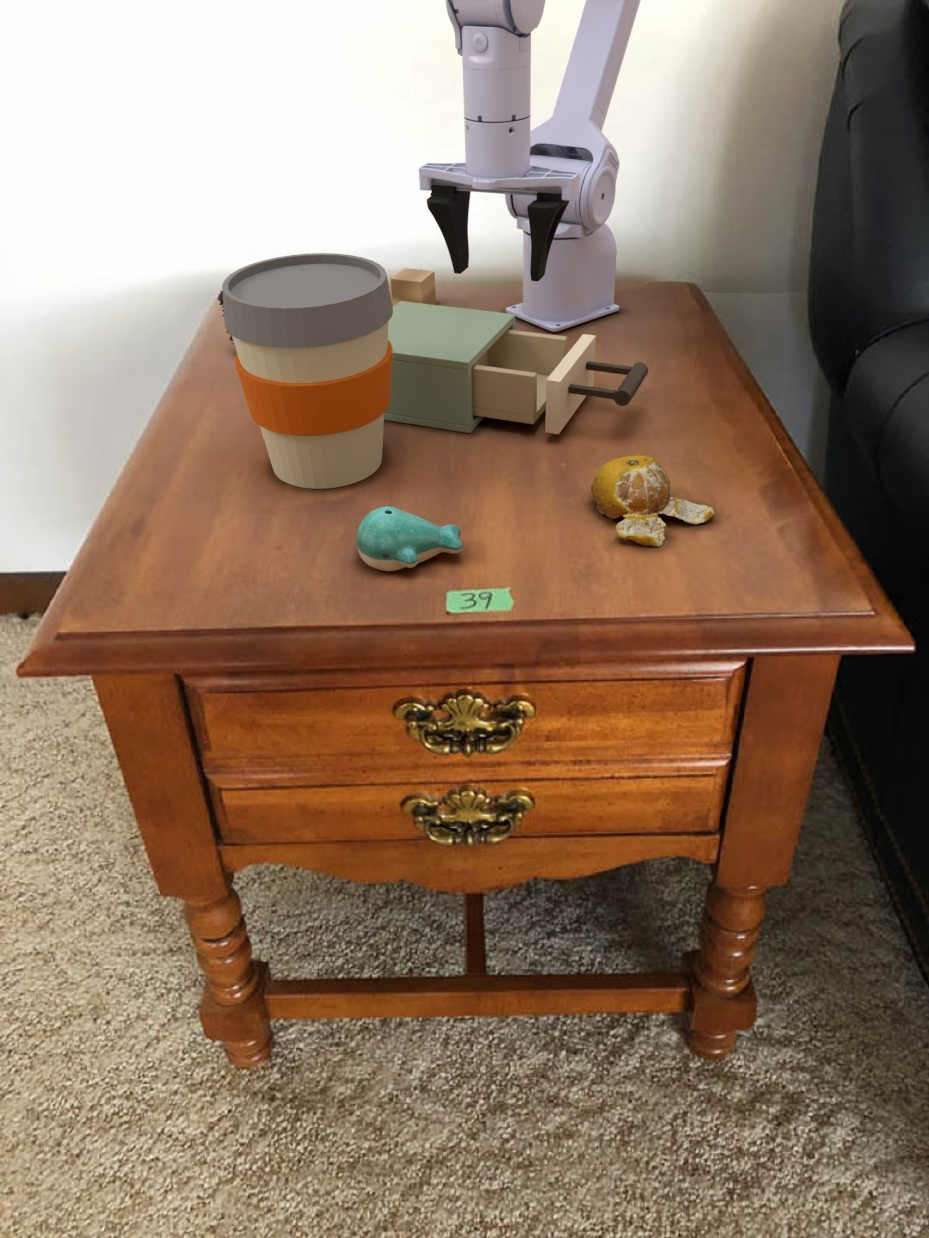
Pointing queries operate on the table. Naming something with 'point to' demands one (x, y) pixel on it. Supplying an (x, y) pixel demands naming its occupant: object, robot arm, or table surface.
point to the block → (413, 286)
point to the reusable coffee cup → (314, 362)
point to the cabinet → (438, 362)
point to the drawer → (544, 378)
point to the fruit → (641, 499)
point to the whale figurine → (403, 539)
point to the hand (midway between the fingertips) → (499, 274)
